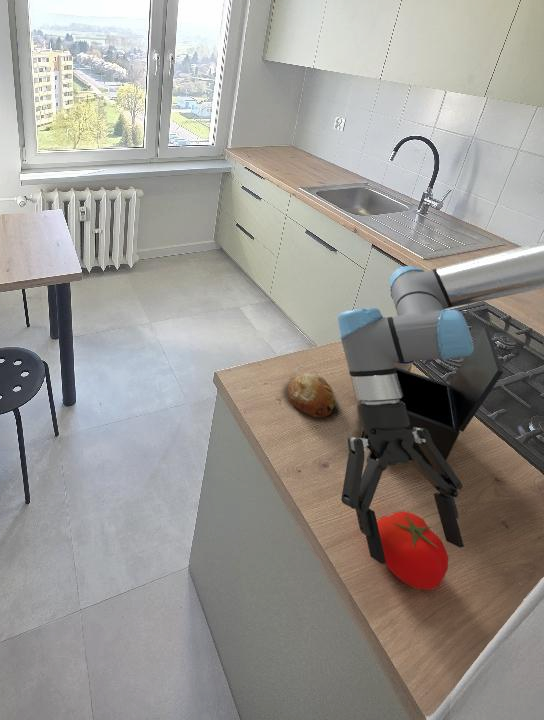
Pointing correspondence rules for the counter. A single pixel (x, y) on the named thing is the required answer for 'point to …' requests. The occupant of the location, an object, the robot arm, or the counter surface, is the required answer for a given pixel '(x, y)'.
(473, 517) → the counter surface
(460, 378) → the bin lid
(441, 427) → the black open box
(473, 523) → the counter surface
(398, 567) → the tomato
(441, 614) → the counter surface
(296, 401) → the bread roll
